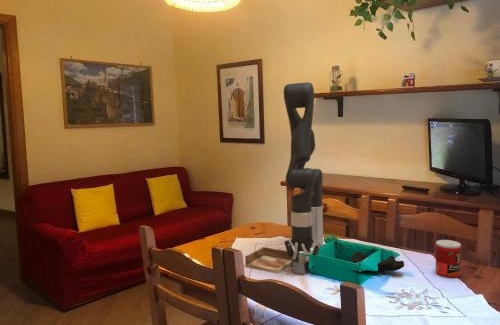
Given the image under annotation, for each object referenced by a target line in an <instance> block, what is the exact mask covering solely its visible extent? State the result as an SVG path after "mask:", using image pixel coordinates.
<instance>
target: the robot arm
mask: <svg viewBox="0 0 500 325" xmlns="http://www.w3.org/2000/svg"><path fill="white" fill-rule="evenodd" d="M283 99H284V106H285V108H286V115H287V118H288V122H289V123H288V124H289V128H290V129H289V130H290V139H291V140H290V158H289V159H290V160H289V164H288V168H287V171H286V174H285V184H286V185H287V187H288V188H290V189H299V190H301V191H303V192H302V193H301V192H300V193H297V194H294V195H292V196H291V199H290V200H291V214H290V219H291V220H290V222H291V223H290V224H291V226H290V228H291V239H286V240H285V241H284V246H285V250H286V251H287V253H288V256H289V257H292V258H293V259H294V261H296V260H298V259H299V258H298V257H299V253H301V252H303V254H304V255H305V256H306V260H307V262H306V268H307V271H308V272H309V273H310V271H309V267H308V265H309V261H310V259H309V254H311V255H319V253H320V249H321V247H322V245H323V244H324V224H323V223H324V222H323V221H324V219H323V218H324V215H323V180H324V179H323V177H324V176H323V172H322V170H321V169H320V168H311V167H306V166H305V165H306V163H308V162H309V161H310V160H311V156H312V154H313V153H314V152H315V150H316V142H315V141H316V140H315V132H314V131H313V128H312V125H313V117H314V109H315V108H314V105H315V90H314V85H313V84H312V83H311V82H307V81H306V82H296V83H288V84H286V85H284V88H283ZM303 108H304V113H303V116H302V117H301V115H300V114H299V111H298V110H297V109H303ZM313 191H314V193H313ZM293 247H294V248H293ZM311 248H312V249H311ZM312 250H313V252H312ZM308 272H307V273H308Z"/></svg>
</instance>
